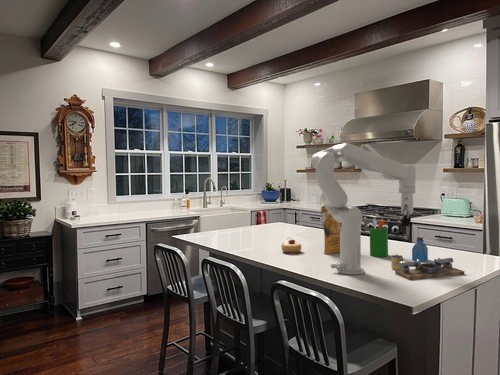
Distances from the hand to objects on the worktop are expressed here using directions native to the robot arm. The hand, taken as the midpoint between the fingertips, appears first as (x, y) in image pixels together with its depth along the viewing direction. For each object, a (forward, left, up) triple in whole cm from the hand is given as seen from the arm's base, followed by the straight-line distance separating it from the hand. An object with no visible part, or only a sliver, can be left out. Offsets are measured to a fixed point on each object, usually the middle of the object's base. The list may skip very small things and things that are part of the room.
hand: (406, 225), depth 189 cm
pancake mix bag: (-18, +44, -21) cm, 53 cm away
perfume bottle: (+17, +11, -21) cm, 29 cm away
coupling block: (-5, -1, -21) cm, 22 cm away
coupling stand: (+3, -14, -21) cm, 25 cm away
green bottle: (+3, +27, -21) cm, 35 cm away
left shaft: (-7, -12, -21) cm, 25 cm away
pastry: (-41, +51, -21) cm, 69 cm away
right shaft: (+12, -12, -21) cm, 27 cm away
